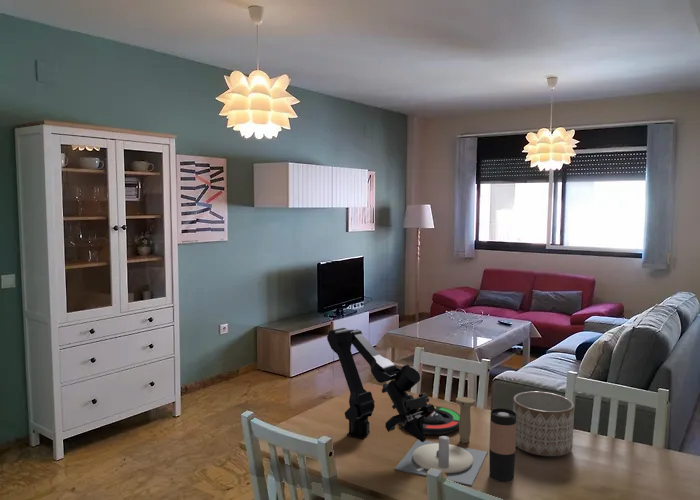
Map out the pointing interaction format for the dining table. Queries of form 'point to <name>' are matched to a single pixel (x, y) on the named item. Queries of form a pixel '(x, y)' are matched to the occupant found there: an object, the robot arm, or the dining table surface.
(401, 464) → the board
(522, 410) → the planter
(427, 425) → the electronic game
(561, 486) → the dining table surface
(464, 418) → the handle
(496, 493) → the dining table surface
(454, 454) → the dial
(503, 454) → the travel mug
